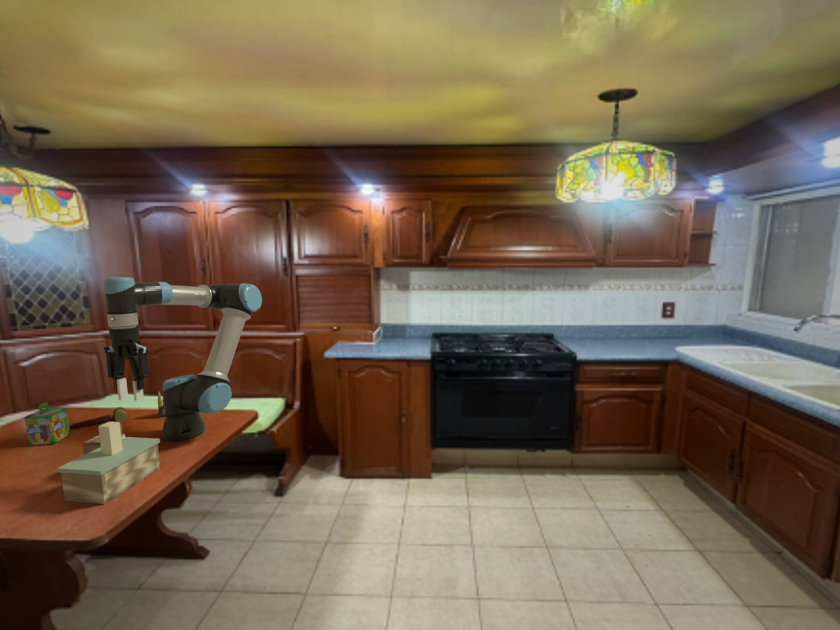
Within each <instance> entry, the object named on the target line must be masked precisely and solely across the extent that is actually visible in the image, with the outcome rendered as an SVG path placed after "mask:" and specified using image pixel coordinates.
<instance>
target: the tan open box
mask: <svg viewBox="0 0 840 630" xmlns="http://www.w3.org/2000/svg"><path fill="white" fill-rule="evenodd" d="M158 444H159V443H158ZM158 444H156V445H154V446H152V447H151V448H149V449H147V450H145V451H143V452H142V453H140V454H138V455H136V456H135V457H133V458H131V459H129V460H127V461H126V462H124V463H122V464H120V465H119V466H117V467H115V468H113V469H111V470H110V471H108V472H106V473H104V474H103V475H90V474H75V473H61V472H60V473H61V483H62V490H63V496H64V502H70V501H76V502H75V503H82V502H85V503H84V504H95V503H99V504H98V505H106V504H107V502H108V501H109V502H110V500H111V501H112V500H114V499H115V498H116V497H119V496H120V495H122V494H123V493H124V492H126V491H128V490H129V489H130V488H133V487H134V486H135V485H137V484H138V483H140V482H141V481H143V480H145V479H147V477H150V476H151V475H152V474H155V471H156V472H157V471H159V470H160V469H161V466H160V464H161V463H160V457H159V455H160V454H159V445H158ZM100 447H101V445H100V443H97V442H94V437H93V438H90V439H89V440H85V441H84V442H82V449H83V455H85V454H87V453H90V452H92V451H94V450H96V449H98V448H100ZM144 478H145V479H144ZM113 498H114V499H113ZM109 502H108V503H109Z"/></svg>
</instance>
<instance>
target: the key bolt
mask: <svg viewBox="0 0 840 630" xmlns="http://www.w3.org/2000/svg"><path fill="white" fill-rule="evenodd" d="M122 423H123V422H120V430H121V440H124V439H125V437H126V434H124V432H123V424H122ZM93 438H94V442H97V443H100V436H99V434H98V435H96V436H93Z"/></svg>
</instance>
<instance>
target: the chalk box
mask: <svg viewBox="0 0 840 630" xmlns="http://www.w3.org/2000/svg"><path fill="white" fill-rule="evenodd" d="M37 406H38V410H37V411H35V412H32V413H30V414H28V415H26V416H25V417H24V418H23V419H24V423H25V430H26V436H27V443H28V444H27V445H28V446H29V447H31V446H43V445H54V444H57V443H58V442H60V441H62V440H64V439H66V438H68V436H70V435H71V430H70V428H69V426H70V422H69V412H68V408H67V407H60V408H59V407H55V408H54V407H53V408H50V406H49V403H48V402H46V401H45V402H43V403H41V404H39V405H37ZM43 407H46V408H45V409H43Z"/></svg>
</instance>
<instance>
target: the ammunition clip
mask: <svg viewBox="0 0 840 630" xmlns="http://www.w3.org/2000/svg"><path fill="white" fill-rule="evenodd" d="M161 394H162V393H161V392H160V391H158V393H157V409H158V418H159V419H162V418H161V417H163V418H165V407H164V398H163V397H162V395H161Z"/></svg>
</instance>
